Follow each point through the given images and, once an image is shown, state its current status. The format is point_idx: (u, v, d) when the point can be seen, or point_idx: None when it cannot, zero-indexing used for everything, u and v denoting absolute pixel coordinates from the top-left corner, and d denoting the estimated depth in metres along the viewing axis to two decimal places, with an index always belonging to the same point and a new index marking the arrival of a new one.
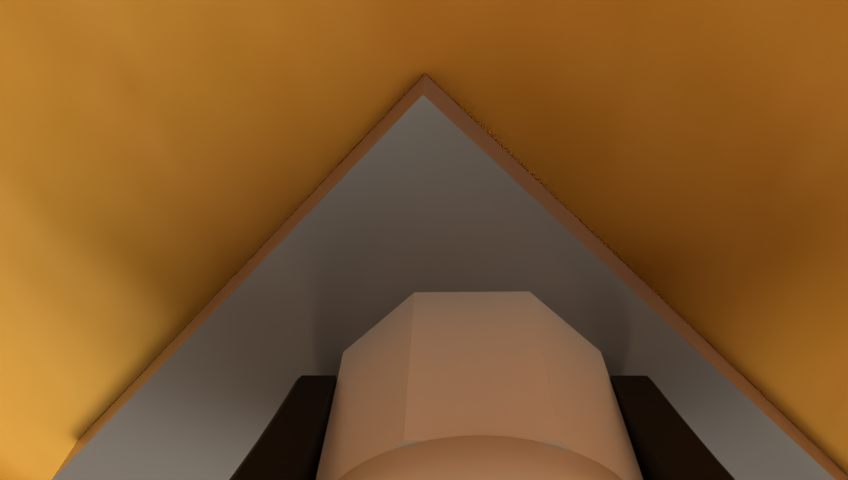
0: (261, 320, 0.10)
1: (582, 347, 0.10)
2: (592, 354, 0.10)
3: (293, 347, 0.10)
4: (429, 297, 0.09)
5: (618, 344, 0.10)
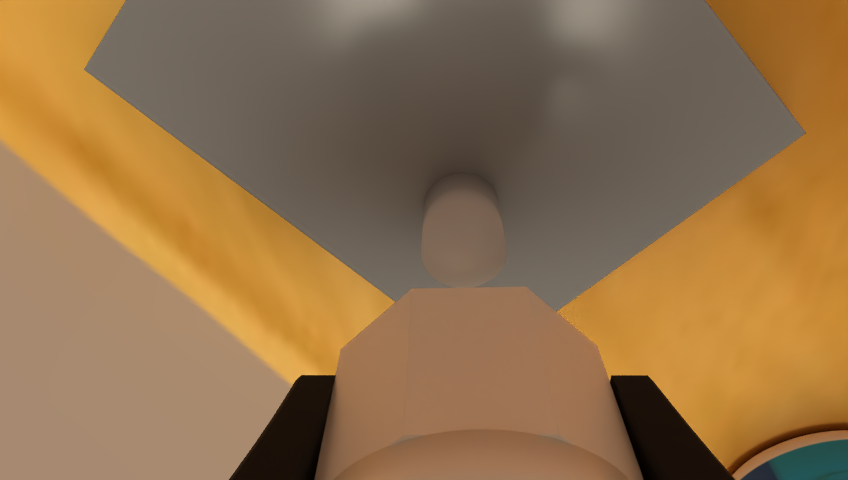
0: None
1: (578, 341, 0.10)
2: (588, 348, 0.10)
3: None
4: (426, 293, 0.09)
5: None
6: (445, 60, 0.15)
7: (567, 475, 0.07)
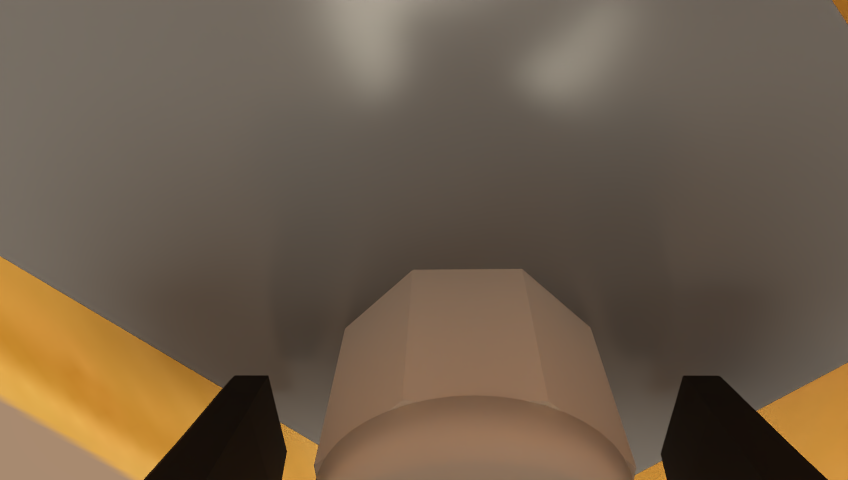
0: None
1: (572, 322, 0.10)
2: (581, 329, 0.10)
3: None
4: (426, 273, 0.10)
5: None
6: (445, 169, 0.09)
7: (554, 438, 0.07)
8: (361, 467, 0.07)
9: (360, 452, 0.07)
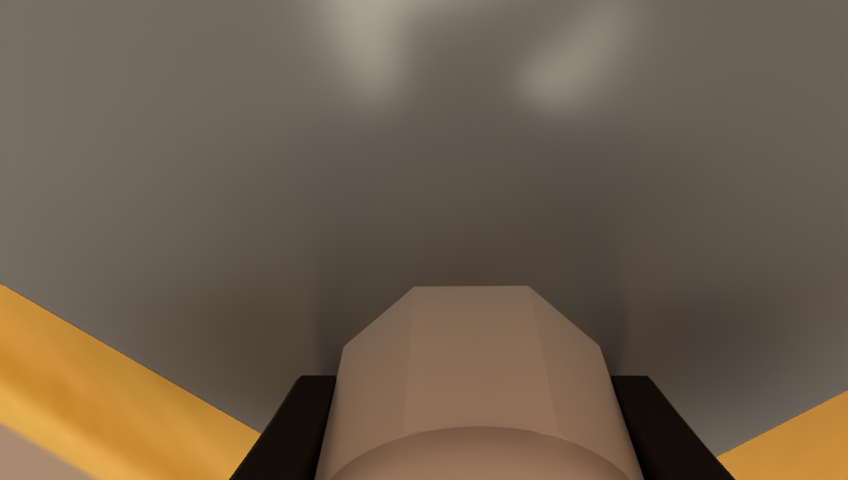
0: None
1: (581, 341, 0.10)
2: (590, 348, 0.10)
3: None
4: (428, 291, 0.09)
5: None
6: (445, 183, 0.09)
7: (566, 473, 0.07)
8: None
9: None
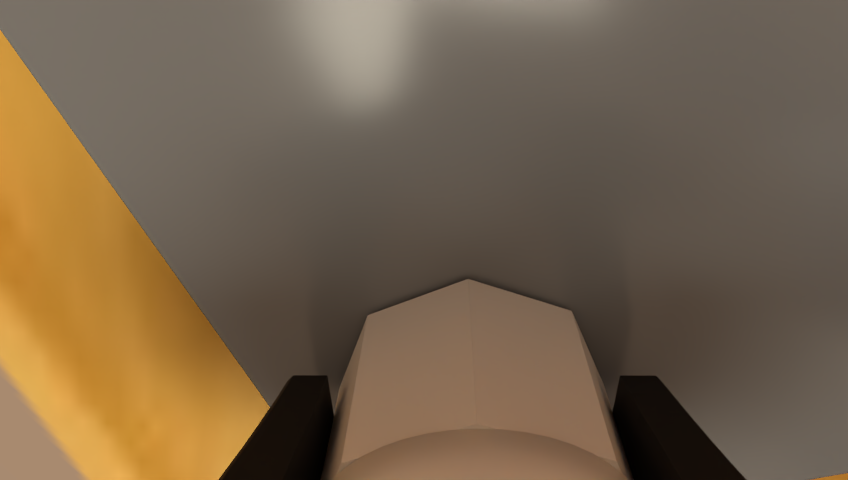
0: None
1: (433, 304, 0.09)
2: (446, 300, 0.09)
3: None
4: (341, 384, 0.11)
5: None
6: (573, 194, 0.09)
7: None
8: None
9: None
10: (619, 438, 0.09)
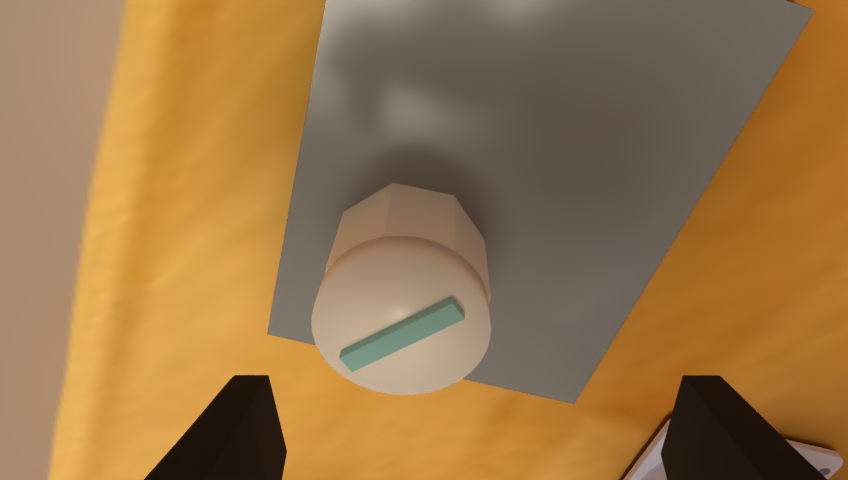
0: None
1: (375, 197, 0.17)
2: (381, 194, 0.17)
3: (606, 11, 0.15)
4: None
5: (674, 189, 0.17)
6: (522, 184, 0.17)
7: (327, 276, 0.15)
8: None
9: None
10: (483, 258, 0.17)
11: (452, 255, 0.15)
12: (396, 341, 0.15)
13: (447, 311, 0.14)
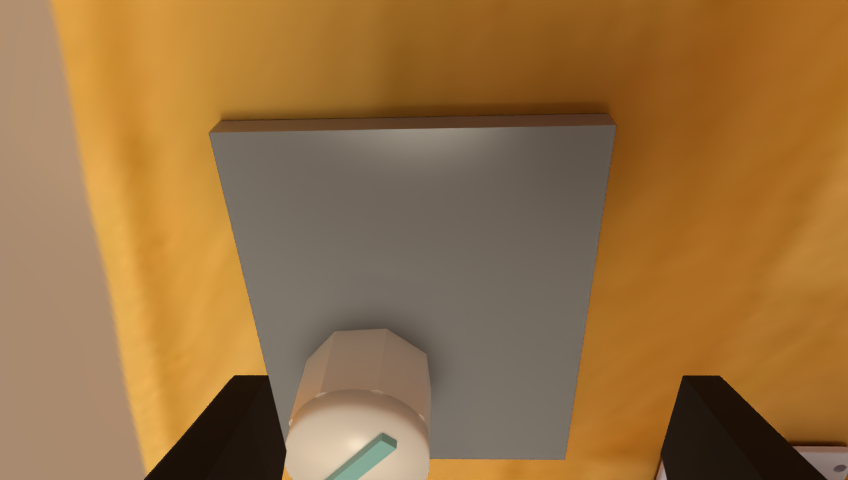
0: (446, 150, 0.17)
1: (323, 347, 0.21)
2: (327, 343, 0.21)
3: (444, 174, 0.17)
4: None
5: (566, 280, 0.19)
6: (437, 307, 0.20)
7: (288, 434, 0.19)
8: None
9: None
10: (419, 378, 0.20)
11: (375, 398, 0.18)
12: (353, 474, 0.19)
13: (380, 446, 0.18)
